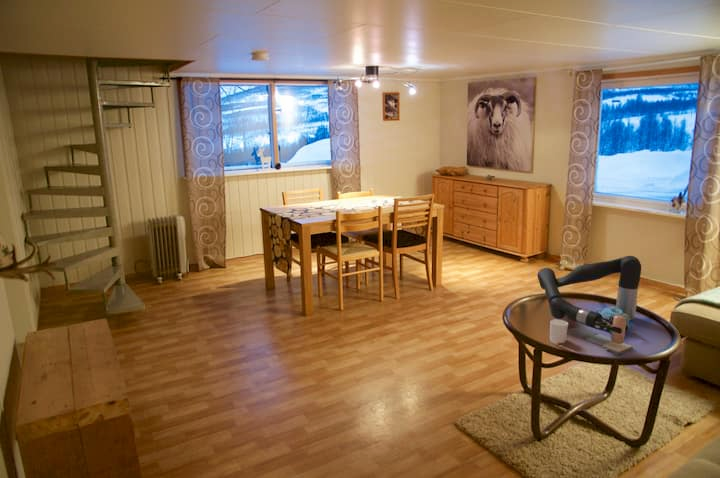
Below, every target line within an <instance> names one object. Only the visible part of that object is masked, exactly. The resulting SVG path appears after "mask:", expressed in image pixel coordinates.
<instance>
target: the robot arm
mask: <svg viewBox="0 0 720 478" xmlns="http://www.w3.org/2000/svg"><path fill="white" fill-rule="evenodd" d="M619 273H620V276H619V280H618V287H617V296H616V303H615V304H616V305H615V308H616V309H617V308H621V310H622V311H623V313H624V314H627V315H628V316H629V317H630V320H629V321H633V320H635V318H636V312H637V303H638V300H637V298H638V291H639V286H640V281H641V274H642V264H641V262H640V259H639V258H638V257H636V256H635V255H634V256H633V255H626V256H622V257H620V258H616V259H611V260H608V261H600V262H599V261H598V262H594V263H588V264H582V265H581V264H580V265H579V266H576V267H575V268H574V269H573V270H571V271H570V272H569V273H568V274H567V275H565V276H563V277H562V276H561V277H559V278H558V277H557V278H556V274H555V271H554V270H553V269H552V268H549V267H543V268H541V269H540V270H538V272H537V279H538V282H539V286H540V287H541V289H543V290H544V292H545V296H546V299H547V302H548V305H549V309H550V313H551V317H553V318H555V319H558V320H563V319H564V318H565V317H567V319H568V320H570V321H573V322H576V323H578V324H581V325H583V326H587V327H588V328H593V329H595V330H599V331H602V332H607V333H609V332H612V331H614V332H617V333H622V329H621V328H618V327H615V326H614V327H613V325H612V324H613V320H614V318H612V317H610V319H608V318H603V317H602V315H601V314H600V313H601V312H600V313H599V312H598V313H597V312H596V311H593V310H589V309H585V308H582V307H578V306H575V305H574V304H573V303H571V302H569V301H567V300H566V299H564V298H563V297H562V295H561V292H560V290H559V288H561V287H565V286H570V285H573V284H574V285H575V284H580V283H587V282H592V281H593V282H594V281H597V280H600V279H602V278H605V277H608V276H610V275H614V274H619ZM625 317H626V316H625ZM627 319H628V318H627ZM627 325H628V324H627ZM627 325H626V328H625V332H626V331H628V330H629V329H628V326H627Z"/></svg>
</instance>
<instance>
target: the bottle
mask: <svg viewBox="0 0 720 478" xmlns="http://www.w3.org/2000/svg"><path fill="white" fill-rule="evenodd" d="M626 322H627V317H625V316H622V315H614V320H613V327H614V326H615V327H618V328H621V329H622V333H617V332H614V331H611V335H610V336H611V337H610V338H611V341H612V342H613V343H616V344H623V343H625V334H626V330H625V328H626Z"/></svg>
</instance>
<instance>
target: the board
mask: <svg viewBox="0 0 720 478" xmlns="http://www.w3.org/2000/svg"><path fill="white" fill-rule="evenodd" d="M567 334H570V335H572V336H574V337H577V338H579V339H581V340H584V341H586V342H589V343H591V344H594V345H597V346H599V347H602V348H603V349H606V352H608V353H610V354H613V355H615V354H616V356H618V354H619V355H622V354H624V353H627V352H629V351H632V350H634V349H633V348H634V347H633V346H632V345H630V344H627V343H625V342H624V343H623V344H616V343H613V342H612V341H611V337H609V336H606V335H604V334H601V333H598V332H596V331H592V330H590V329H588V328H584V327H582V326H576V327H573V328H568V329H567Z"/></svg>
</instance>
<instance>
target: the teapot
mask: <svg viewBox="0 0 720 478" xmlns="http://www.w3.org/2000/svg"><path fill="white" fill-rule="evenodd" d="M599 311H601V312H600V314H601V315H602V317H603V318H608V319H610V317H612V318H614V315H622V316H626V317H627V318H628V319H627V320H626V325H627V326H628V330H629V329H630V328H631V325H629V322H630V321H631V320H630V317H629V316H628V315H627V314H624V313H623V311H622V310H621V308H617V309H616V306H610V307H605V308H597V309H596V310H595V312H597V313H599ZM612 325H613V324H612Z"/></svg>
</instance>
